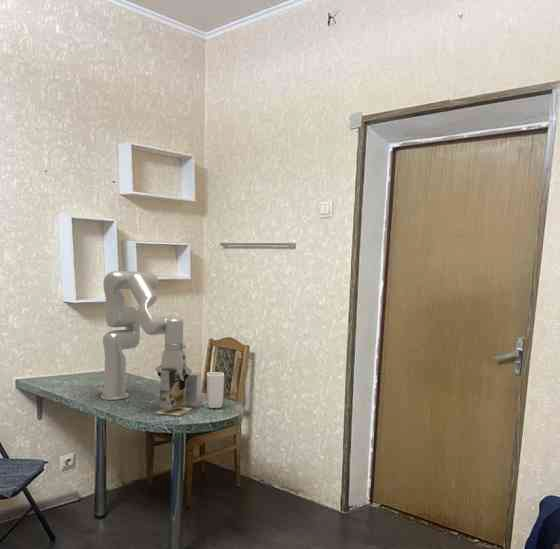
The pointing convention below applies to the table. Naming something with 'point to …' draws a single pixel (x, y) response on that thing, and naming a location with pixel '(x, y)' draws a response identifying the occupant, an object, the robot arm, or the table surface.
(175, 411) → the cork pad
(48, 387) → the table surface
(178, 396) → the coffee box
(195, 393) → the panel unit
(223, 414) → the table surface
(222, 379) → the cup
